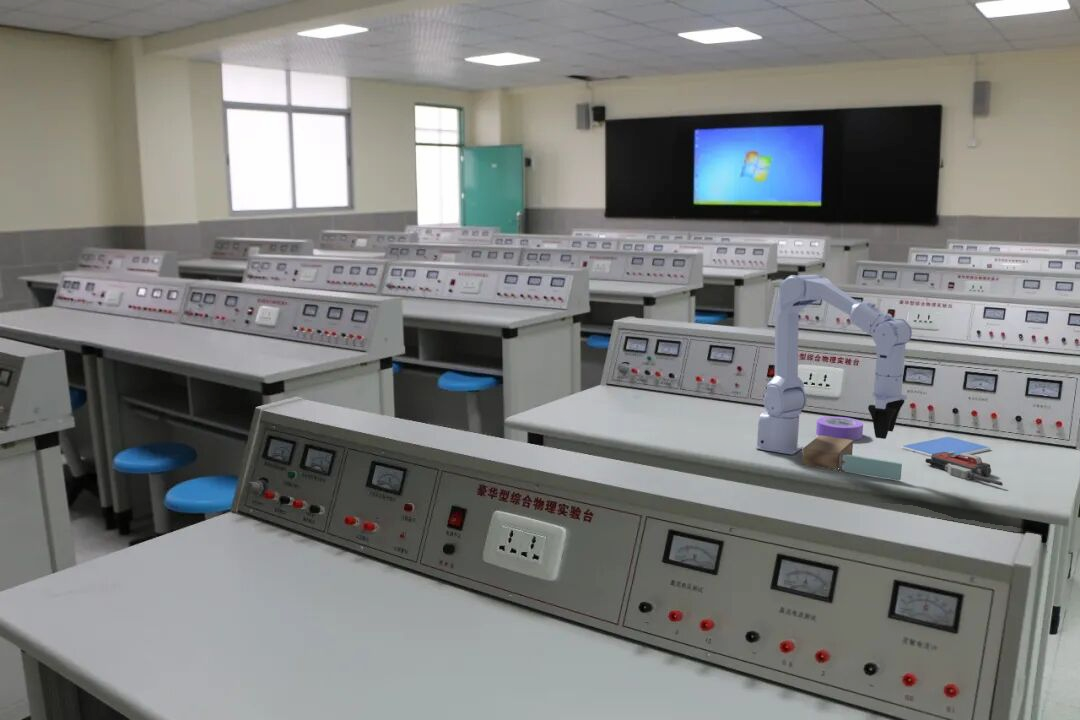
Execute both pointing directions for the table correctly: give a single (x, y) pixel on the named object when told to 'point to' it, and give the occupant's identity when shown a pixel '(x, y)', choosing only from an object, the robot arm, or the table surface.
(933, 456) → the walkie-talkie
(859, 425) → the masking tape
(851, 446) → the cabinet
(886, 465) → the pale teal rectangular panel
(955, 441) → the tablet computer
